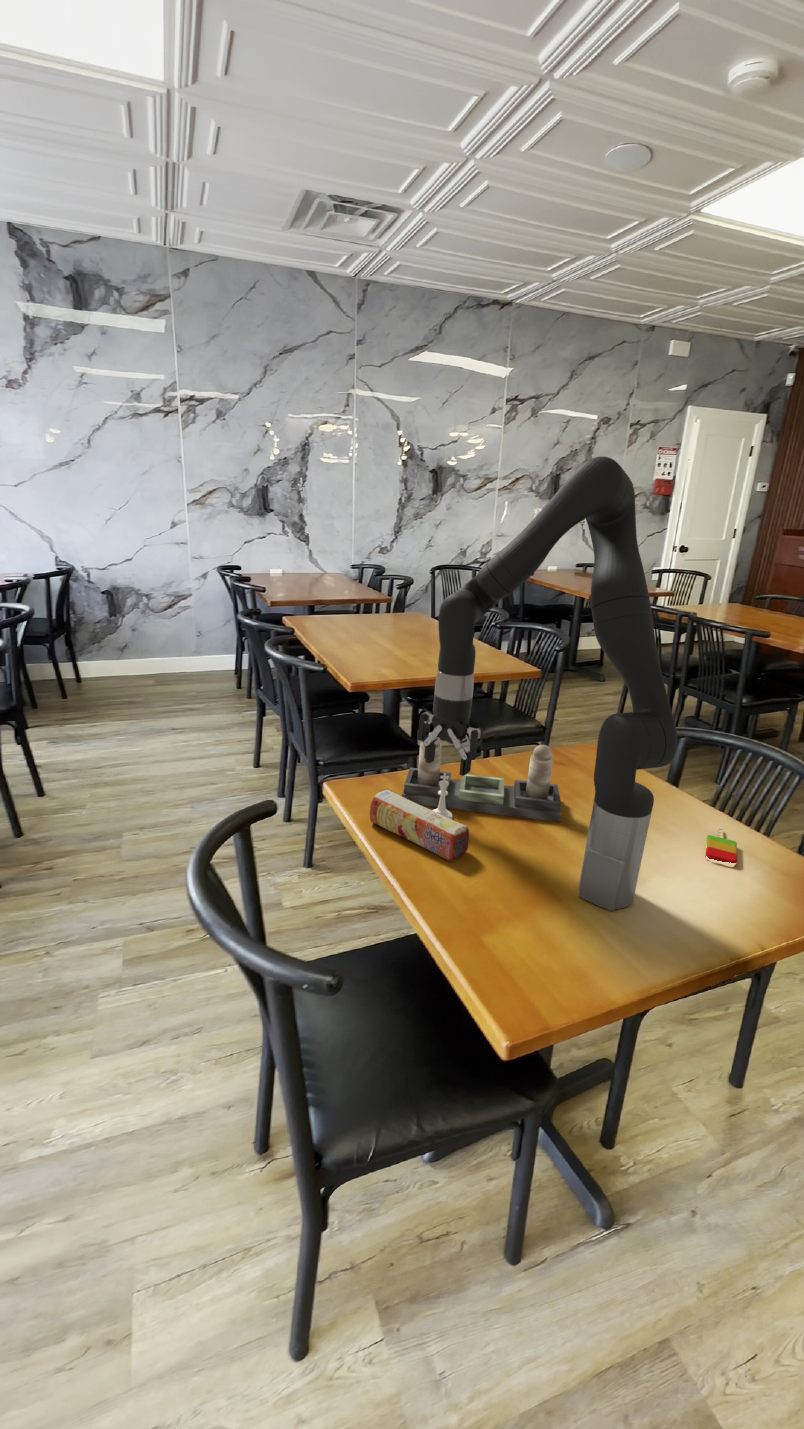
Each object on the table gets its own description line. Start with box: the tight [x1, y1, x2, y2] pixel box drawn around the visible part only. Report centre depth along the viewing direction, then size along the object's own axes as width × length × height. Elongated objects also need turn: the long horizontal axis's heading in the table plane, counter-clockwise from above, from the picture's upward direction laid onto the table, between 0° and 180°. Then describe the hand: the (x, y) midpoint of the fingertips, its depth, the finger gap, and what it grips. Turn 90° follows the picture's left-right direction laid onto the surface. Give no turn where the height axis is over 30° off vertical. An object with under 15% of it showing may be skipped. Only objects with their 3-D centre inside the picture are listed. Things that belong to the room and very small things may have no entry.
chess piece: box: [431, 773, 454, 820], centre depth 135 cm, size 5×5×10 cm
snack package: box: [369, 789, 470, 862], centre depth 127 cm, size 21×7×7 cm, turn 49°
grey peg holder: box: [401, 732, 562, 823], centre depth 142 cm, size 34×11×15 cm, turn 82°
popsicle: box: [705, 828, 738, 863], centre depth 131 cm, size 6×15×2 cm, turn 155°
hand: (446, 768), depth 133 cm, fingers open, 8 cm apart
